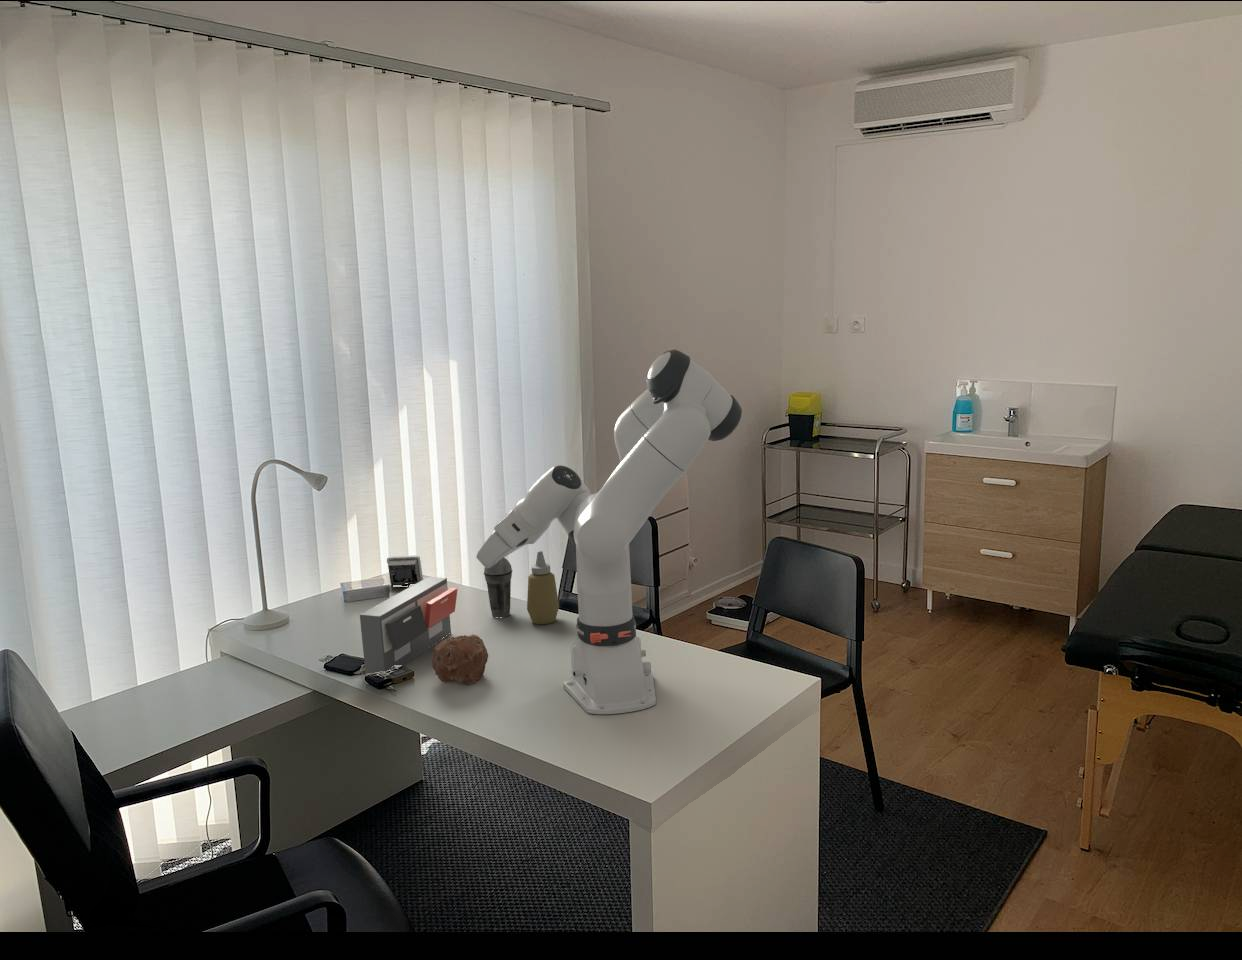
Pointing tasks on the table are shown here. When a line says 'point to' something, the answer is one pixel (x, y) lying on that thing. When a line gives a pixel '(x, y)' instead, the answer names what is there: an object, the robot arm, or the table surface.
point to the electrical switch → (404, 570)
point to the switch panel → (375, 619)
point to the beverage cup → (499, 587)
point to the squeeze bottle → (542, 593)
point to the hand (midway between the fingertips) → (489, 564)
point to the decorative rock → (460, 659)
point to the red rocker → (440, 607)
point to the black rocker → (406, 627)
